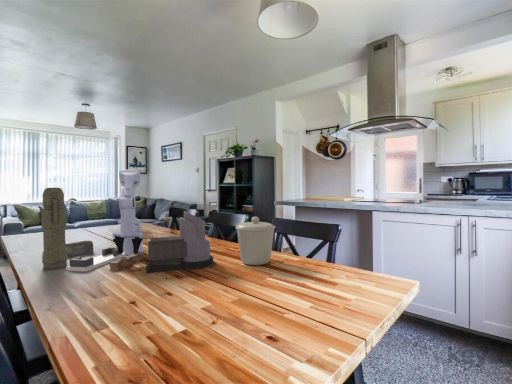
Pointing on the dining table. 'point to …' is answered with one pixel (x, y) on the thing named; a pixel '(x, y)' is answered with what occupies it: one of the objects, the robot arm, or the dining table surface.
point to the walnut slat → (126, 261)
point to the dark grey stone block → (79, 248)
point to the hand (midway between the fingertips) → (128, 253)
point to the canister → (255, 241)
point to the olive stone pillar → (54, 229)
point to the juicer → (181, 248)
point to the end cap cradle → (95, 260)
